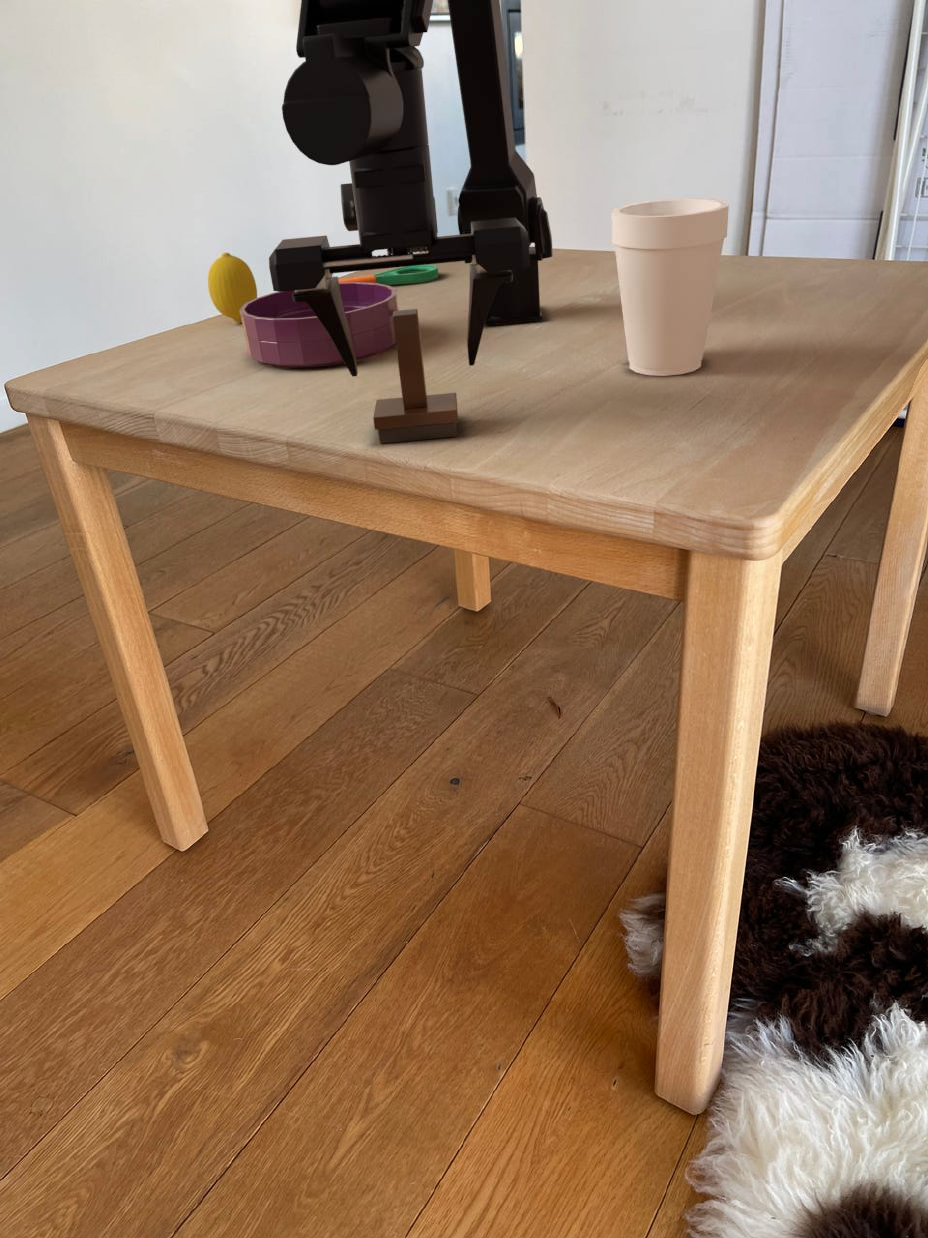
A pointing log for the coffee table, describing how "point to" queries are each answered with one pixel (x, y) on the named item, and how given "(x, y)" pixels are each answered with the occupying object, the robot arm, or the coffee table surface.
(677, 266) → the foam cup
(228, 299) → the lemon
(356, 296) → the bowl
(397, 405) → the brush
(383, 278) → the magnifying glass
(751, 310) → the coffee table surface
